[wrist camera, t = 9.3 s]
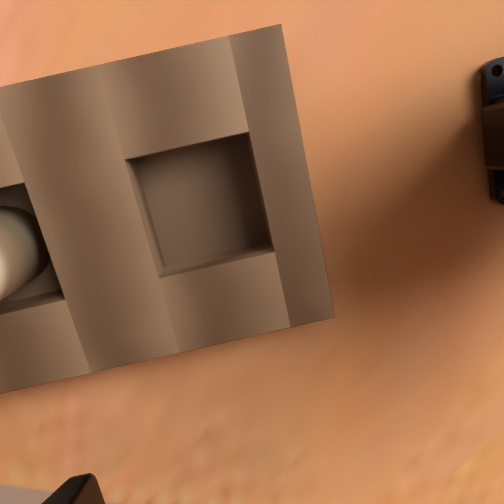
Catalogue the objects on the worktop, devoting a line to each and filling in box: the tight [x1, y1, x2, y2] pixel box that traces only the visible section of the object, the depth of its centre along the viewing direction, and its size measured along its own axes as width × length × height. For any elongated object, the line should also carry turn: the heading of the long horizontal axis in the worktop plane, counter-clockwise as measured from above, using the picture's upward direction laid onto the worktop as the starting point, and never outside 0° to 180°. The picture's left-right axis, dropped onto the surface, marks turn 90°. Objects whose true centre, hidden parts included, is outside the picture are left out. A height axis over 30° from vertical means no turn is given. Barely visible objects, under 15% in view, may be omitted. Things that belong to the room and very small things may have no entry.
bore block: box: [0, 24, 335, 394], centre depth 18 cm, size 18×12×2 cm, turn 102°
